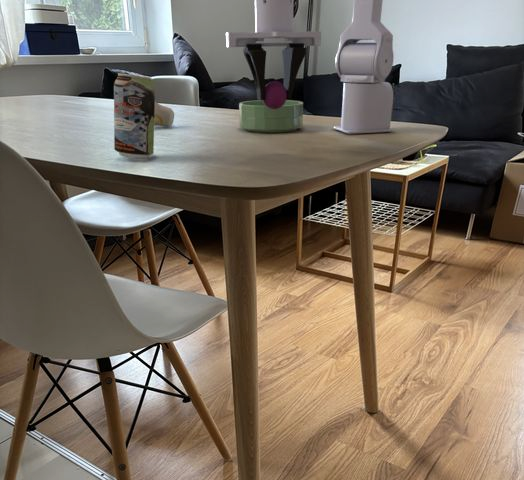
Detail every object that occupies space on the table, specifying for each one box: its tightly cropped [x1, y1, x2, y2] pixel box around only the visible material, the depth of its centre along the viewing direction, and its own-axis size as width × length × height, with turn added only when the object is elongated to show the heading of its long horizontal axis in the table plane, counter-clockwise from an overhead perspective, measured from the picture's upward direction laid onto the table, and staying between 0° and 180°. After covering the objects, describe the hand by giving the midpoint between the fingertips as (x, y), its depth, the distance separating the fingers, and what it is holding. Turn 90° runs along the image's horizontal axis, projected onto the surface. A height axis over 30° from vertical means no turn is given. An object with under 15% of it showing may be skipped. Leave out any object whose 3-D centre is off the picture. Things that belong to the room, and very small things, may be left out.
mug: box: [154, 101, 175, 128], centre depth 110 cm, size 8×10×10 cm
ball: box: [263, 80, 288, 109], centre depth 82 cm, size 4×4×4 cm
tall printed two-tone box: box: [113, 72, 156, 159], centre depth 79 cm, size 6×7×12 cm
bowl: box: [238, 99, 304, 134], centre depth 107 cm, size 13×13×5 cm
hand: (274, 99), depth 82 cm, fingers closed on ball, 4 cm apart
